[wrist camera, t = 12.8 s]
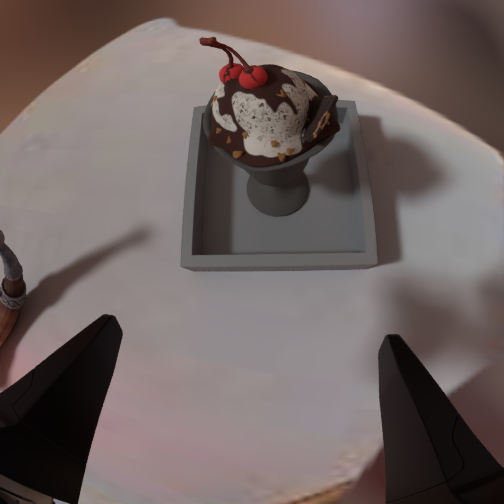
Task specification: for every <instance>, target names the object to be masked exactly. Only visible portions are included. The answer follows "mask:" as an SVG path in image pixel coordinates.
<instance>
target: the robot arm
mask: <svg viewBox="0 0 504 504" xmlns="http://www.w3.org/2000/svg"><path fill="white" fill-rule="evenodd" d="M122 336H123V332H122V329H121V327H120V325H119V323H118V321H117V319H116V317H115V316H113V315H109V314H104V315H102V316H101V317H99V318H98V319H97V320H95V321H94V322H93V323H91V324H90V325H89V326H87V327H86V328H85V329H83V330H82V331H81V332H79V333H78V334H77V335H76V336H74V337H73V338H72V339H70V340H69V341H68V342H66V343H65V344H64V345H63V346H61V347H60V348H59V349H57V350H56V351H55V352H54V353H52V354H51V355H50V356H49V357H47V358H46V359H45V360H44V361H42V362H41V363H40V364H39V365H37V366H36V367H35V368H34V369H32V370H31V371H30V372H29V373H27V374H26V375H25V376H23V377H22V378H21V379H20V380H18V381H17V382H16V383H14V384H13V385H11V386H10V387H9V388H7V389H6V390H4V391H3V392H1V393H0V504H55V502H54V501H53V499H54V498H55V499H57V500H60V501H63V502H66V503H69V504H78V500H79V495H80V491H81V486H82V481H83V477H84V473H85V469H86V463H87V460H88V456H89V452H90V448H91V445H92V441H93V437H94V434H95V430H96V427H97V423H98V420H99V416H100V413H101V410H102V407H103V403H104V400H105V397H106V394H107V391H108V388H109V385H110V382H111V379H112V376H113V373H114V369H115V365H116V361H117V357H118V352H119V348H120V344H121V341H122ZM378 362H379V400H380V410H381V419H382V430H383V442H384V457H385V480H386V481H385V482H386V504H504V468H503V467H502V466H501V465H500V464H499V463H498V462H497V461H496V459H495V458H494V457H493V456H492V455H491V453H490V452H489V451H488V450H487V449H486V448H485V446H484V445H483V444H482V443H481V442H480V440H479V439H478V438H477V437H476V436H475V434H473V432H472V431H471V429H470V428H469V426H468V425H467V424H466V422H465V421H464V420H463V418H462V417H461V415H460V414H459V413H458V412H457V410H456V409H455V407H454V406H453V404H452V403H451V402H450V400H449V399H448V397H447V396H446V395H445V393H444V392H443V391H442V389H441V388H440V387H439V385H438V384H437V383H436V381H435V380H434V379H433V377H432V376H431V375H430V373H429V372H428V371H427V369H426V368H425V367H424V365H423V364H422V363H421V362H420V360H419V359H418V358H417V356H416V355H415V354H414V353H413V351H412V350H411V349H410V348H409V346H408V345H407V344H406V343H405V341H404V340H403V339H402V338H401V336H400V335H398V334H388V335H386V336H385V338H384V340H383V343H382V345H381V347H380V349H379V353H378ZM457 413H458V414H457Z"/></svg>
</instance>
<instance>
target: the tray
mask: <svg viewBox="0 0 504 504" xmlns="http://www.w3.org/2000/svg"><path fill="white" fill-rule="evenodd" d="M336 107H337V112H338V123H339V124H340V131H339V132H337V133H336V134H335V136H334V138H333V140H332V141H331V142H330V143H329V144H328V145H327V146H326V147H325V148H324V149H323V150H322V151H320V152H319V153H318V154H316V155H314V156H312V157H310V159H309V161H308V164H307V165H306V167H305V169H304V170H303V172H304V173H305V175H306V177H307V179H308V183H309V192H308V196H307V199H306V201H305V203H304V204H303V205H302V206H301V207H300V208H299V210H297V211H295V212H294V213H292V214H289V215H287V216H279V217H274V216H269V215H266V214H263V213H262V212H260V211H259V210H257V209H256V208H255V207H254V206H253V205H252V203H251V202H250V200H249V198H248V195H247V182H248V179H249V176H250V175H249V174H248V173H247V172H246V171H245V170H244V169H242V168H240V167H238V166H236V165H234V164H232V163H231V162H230V161H228V160H227V159H226V158H224V157H223V156H222V155H221V154H220V153H219V152H218V151H217V150H216V149H212V148H211V147H210V146H209V145H208V138H207V136H206V133H205V131H204V128H203V115H204V112H205V109H206V106H199V107H194V112H193V119H192V127H191V135H190V144H189V153H188V163H187V173H186V184H185V196H184V210H183V225H182V243H181V265H180V267H183V268H185V269H188V270H191V271H305V270H352V269H368V268H370V267H372V266H374V265H377V264H378V262H377V246H376V233H375V222H374V212H373V203H372V195H371V187H370V180H369V173H368V167H367V160H366V154H365V149H364V143H363V138H362V133H361V128H360V123H359V118H358V113H357V109H356V104H355V101H345V100H338V101H337V103H336Z"/></svg>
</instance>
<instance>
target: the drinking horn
mask: <svg viewBox="0 0 504 504" xmlns="http://www.w3.org/2000/svg"><path fill="white" fill-rule="evenodd" d="M4 240H5V238H4V234H3V232H2V231H1V230H0V255H1V257H2V260H3V264H4V274H5V278H4V279H3V281H2V284H1V287H0V346H1V345H2V343H3V342H4V341H5V339H6V338H7V336H8V335H9V333H10V332H11V330H12V328H13V326H14V324H15V322H16V320H17V317H18V314H19V311H20V308H21V307H22V305H23V304H24V302H25V296H26V284H25V282H24V280H23V274H22V273H23V269H22V266H21V265H20V263H19V261H18V259H17V257H16V255H15V254H14V253H13V251H12V250H11V249H10V248H9V247H8V246H7V245H6V244H5V243H4Z"/></svg>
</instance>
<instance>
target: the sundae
mask: <svg viewBox="0 0 504 504" xmlns="http://www.w3.org/2000/svg"><path fill="white" fill-rule="evenodd" d="M200 44H201V45H203V46H210V47H215V48H219V49H222V50H224V51H225V52H226V53H227V55H228V57H229V64H227V65H226V66H224V67H223V68H222V69H221V70H220V72H219V77H220V80H221V83H220V85H219V86H218V88H217V89H216V91H215V92H214V94H213V96H212V97H211V99H210V101H209V103H208V105H207V106H206V109H205V112H204V115H203V128H204V131H205V133H206V136H207V138H208V145H209V146H210V147H211V148H212V149H216V150H217V151H218V152H219V153H220V154H221V155H222V156H223V157H224V158H226V159H227V160H228V161H230V162H231V163H232V164H234V165H236V166H238V167H240V168H242V169H244V170H245V171H246V172H247V173H248V174H249V175H250V176H249V179H248V182H247V195H248V198H249V200H250V202H251V203H252V205H253V206H254V207H255V208H256V209H257V210H259V211H260V212H262V213H263V214H266V215H269V216H274V217H279V216H287V215H289V214H292V213H294V212H295V211H297V210H299V208H300V207H301V206H302V205H303V204H304V203H305V201H306V199H307V196H308V192H309V183H308V179H307V177H306V175H305V173H304V172H303V170H304V169H305V167H306V165H307V164H308V161H309V159H310V157H312V156H314V155H316V154H318V153H319V152H320V151H322V150H323V149H324V148H325V147H326V146H327V145H328V144H329V143H330V142H331V141H332V140H333V138H334V136H335V134H336V133H337V132H339V131H340V124H339V123H338V112H337V107H336V103H337V101H338V97H337V96H336V95H332V94H331V93H330V91H329V90H328V89H327V87H326V86H325V85H323V84H322V83H321V82H320V81H319V80H318V79H316V78H314V77H312V76H310V75H307V74H304V73H301V72H297V71H291V70H289V69H286V68H283V67H281V66H278V65H271V64H268V65H260V66H256V65H253V66H249V65H248V64H247V63H246V62H245V60H244V59H243V58H242V57H241V56H240V55H239V54H238V53H237V52H236V51H235V50H233V49H232V48H231V47H229V46H227V45H225V44H221V43H219V42H217V41H216V38H215V37H211V38H200ZM226 48H227V49H228V50H227V49H226ZM230 51H231V52H232V53H233V54H234V55H235V56H236V57H237V58H238V59H239V60H240V61H241V63H242V64H243V66H244V67H245V68H244V67H243V66H242V65H241V64H236V63H233V57H232V54H231V53H230Z"/></svg>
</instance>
